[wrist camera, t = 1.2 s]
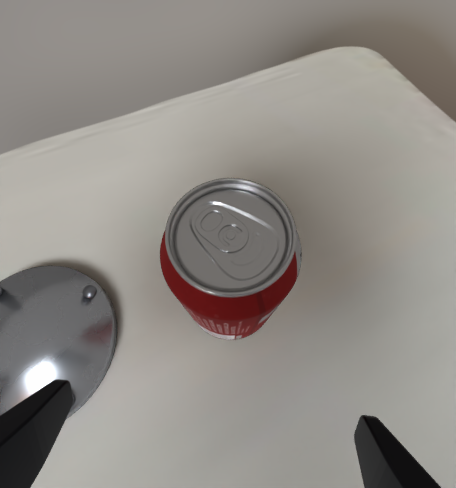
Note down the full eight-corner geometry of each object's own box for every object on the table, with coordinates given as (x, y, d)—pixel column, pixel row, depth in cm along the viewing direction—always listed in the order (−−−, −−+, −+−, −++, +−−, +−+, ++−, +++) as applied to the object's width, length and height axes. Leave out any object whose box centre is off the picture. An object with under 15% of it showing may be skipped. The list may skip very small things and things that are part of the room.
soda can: (235, 360, 20) (241, 354, 9) (172, 301, 22) (115, 238, 11) (288, 292, 22) (343, 222, 11) (226, 244, 24) (223, 143, 13)
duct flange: (148, 343, 21) (143, 341, 20) (0, 483, 17) (-17, 492, 16) (65, 243, 24) (56, 237, 23) (-71, 343, 21) (-89, 342, 20)
